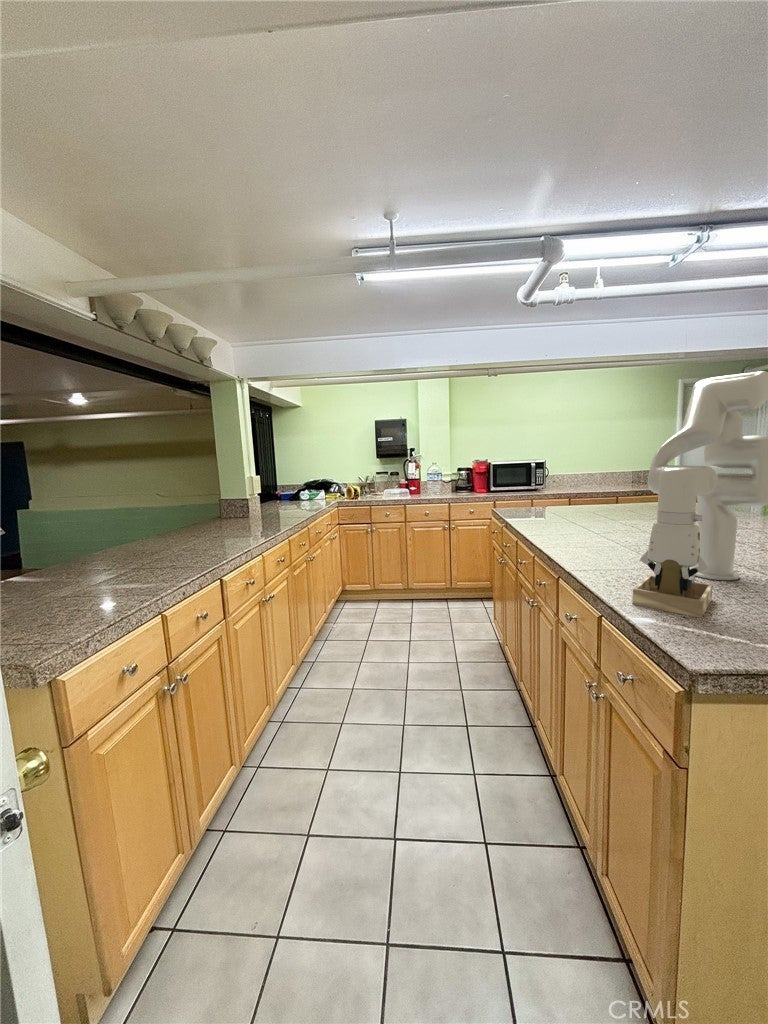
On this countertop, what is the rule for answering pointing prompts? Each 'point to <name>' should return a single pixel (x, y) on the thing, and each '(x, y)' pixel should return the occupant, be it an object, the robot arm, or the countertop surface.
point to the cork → (670, 578)
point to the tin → (690, 588)
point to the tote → (672, 598)
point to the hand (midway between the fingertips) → (670, 590)
